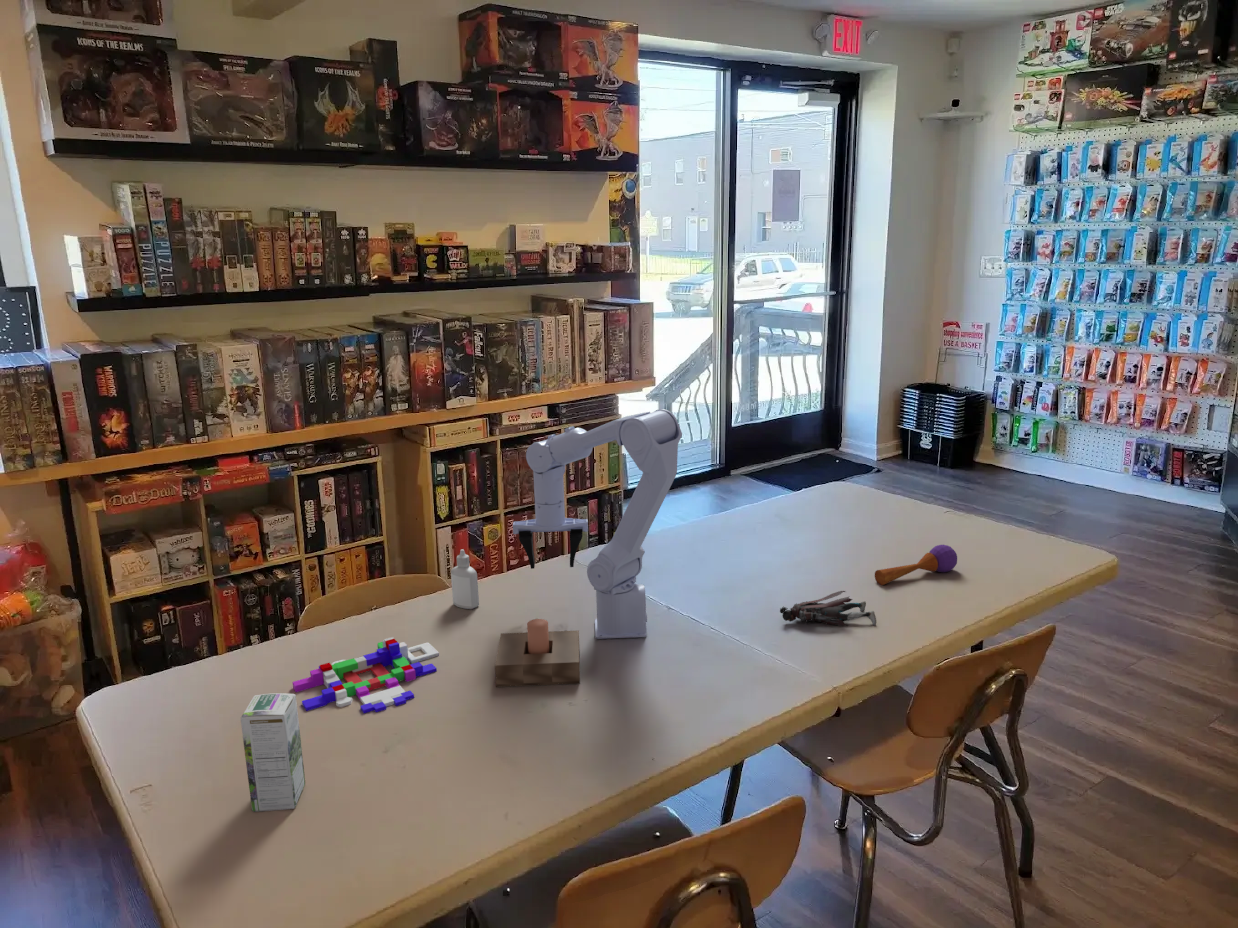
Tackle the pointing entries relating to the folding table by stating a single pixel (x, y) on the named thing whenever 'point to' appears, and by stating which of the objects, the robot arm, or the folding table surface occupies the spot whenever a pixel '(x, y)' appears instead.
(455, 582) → the eye dropper bottle
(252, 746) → the syrup box
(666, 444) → the robot arm
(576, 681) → the socket block
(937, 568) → the purple and brown maraca
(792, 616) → the action figure
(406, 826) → the folding table surface
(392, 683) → the building block set
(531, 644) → the pin
